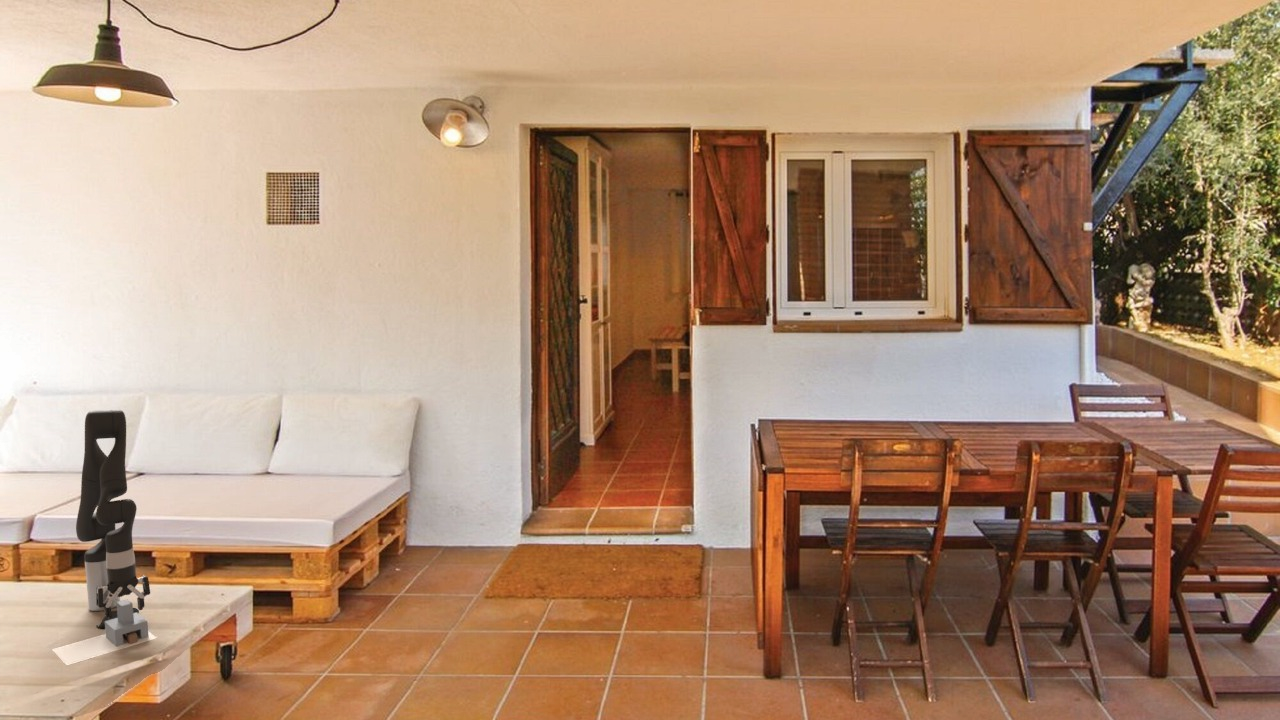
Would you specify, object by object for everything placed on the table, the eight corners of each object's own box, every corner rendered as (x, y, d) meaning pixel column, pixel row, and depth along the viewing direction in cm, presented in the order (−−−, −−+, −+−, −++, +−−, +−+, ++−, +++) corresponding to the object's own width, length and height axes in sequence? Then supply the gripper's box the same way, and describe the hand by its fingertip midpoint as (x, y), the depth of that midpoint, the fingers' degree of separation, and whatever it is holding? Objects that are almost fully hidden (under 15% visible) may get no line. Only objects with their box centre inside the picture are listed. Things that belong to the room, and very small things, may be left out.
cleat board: (52, 654, 254) (51, 641, 254) (140, 628, 272) (139, 616, 271) (66, 670, 243) (65, 657, 243) (157, 642, 261) (156, 630, 260)
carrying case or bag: (104, 619, 280) (93, 636, 267) (103, 610, 280) (92, 627, 266) (140, 613, 284) (131, 630, 271) (139, 605, 284) (131, 621, 270)
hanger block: (105, 637, 262) (102, 602, 261) (137, 627, 268) (135, 594, 267) (116, 646, 255) (113, 611, 254) (148, 636, 262) (145, 602, 260)
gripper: (142, 554, 267) (146, 603, 269) (90, 567, 256) (95, 617, 258) (150, 560, 262) (154, 610, 263) (98, 572, 251) (102, 624, 253)
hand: (125, 613), depth 261 cm, fingers open, 8 cm apart
